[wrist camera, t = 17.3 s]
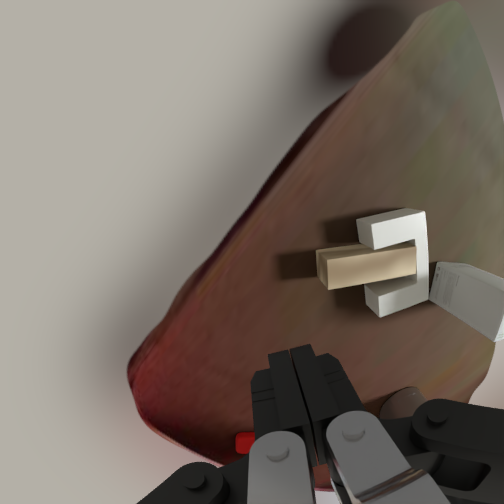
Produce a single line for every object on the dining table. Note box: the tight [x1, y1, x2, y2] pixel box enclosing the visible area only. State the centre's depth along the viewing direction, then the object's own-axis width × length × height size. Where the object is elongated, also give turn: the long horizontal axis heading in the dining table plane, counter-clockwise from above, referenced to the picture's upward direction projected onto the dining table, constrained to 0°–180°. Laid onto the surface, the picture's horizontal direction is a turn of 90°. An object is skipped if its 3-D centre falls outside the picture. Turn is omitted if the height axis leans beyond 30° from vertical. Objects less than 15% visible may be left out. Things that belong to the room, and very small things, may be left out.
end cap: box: [356, 208, 429, 318], centre depth 33 cm, size 12×8×4 cm, turn 13°
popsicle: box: [236, 432, 255, 454], centre depth 42 cm, size 6×15×2 cm, turn 88°
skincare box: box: [429, 262, 504, 342], centre depth 29 cm, size 8×7×16 cm
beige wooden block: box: [316, 242, 417, 290], centre depth 33 cm, size 4×12×5 cm, turn 97°
